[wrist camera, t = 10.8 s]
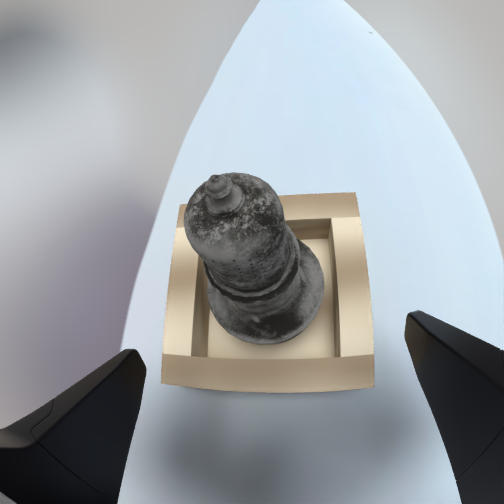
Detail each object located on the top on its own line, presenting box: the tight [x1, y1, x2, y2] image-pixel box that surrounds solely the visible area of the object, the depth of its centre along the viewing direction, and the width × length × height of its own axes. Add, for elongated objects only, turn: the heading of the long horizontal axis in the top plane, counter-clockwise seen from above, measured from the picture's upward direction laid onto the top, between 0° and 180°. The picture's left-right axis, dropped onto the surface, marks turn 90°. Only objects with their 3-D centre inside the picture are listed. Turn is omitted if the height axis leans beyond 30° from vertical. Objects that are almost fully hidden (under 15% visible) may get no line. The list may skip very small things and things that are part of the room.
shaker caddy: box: [161, 192, 374, 393], centre depth 16 cm, size 11×11×4 cm
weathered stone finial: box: [184, 173, 325, 345], centre depth 12 cm, size 6×6×12 cm
